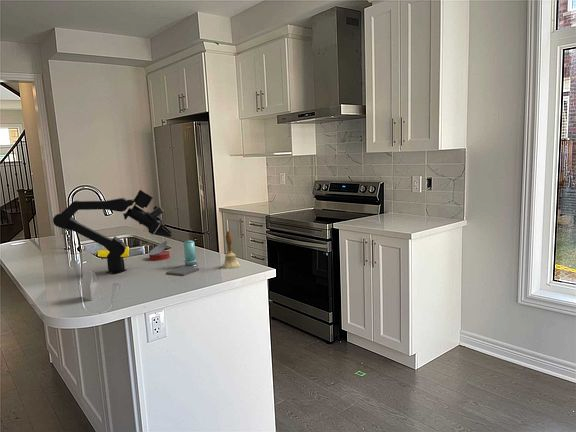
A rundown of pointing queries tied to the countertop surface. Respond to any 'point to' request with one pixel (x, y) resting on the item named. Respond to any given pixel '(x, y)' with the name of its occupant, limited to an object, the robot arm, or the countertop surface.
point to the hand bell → (230, 254)
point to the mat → (182, 271)
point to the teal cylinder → (189, 251)
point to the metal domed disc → (191, 264)
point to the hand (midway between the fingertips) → (170, 234)
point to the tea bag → (90, 286)
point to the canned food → (159, 252)
